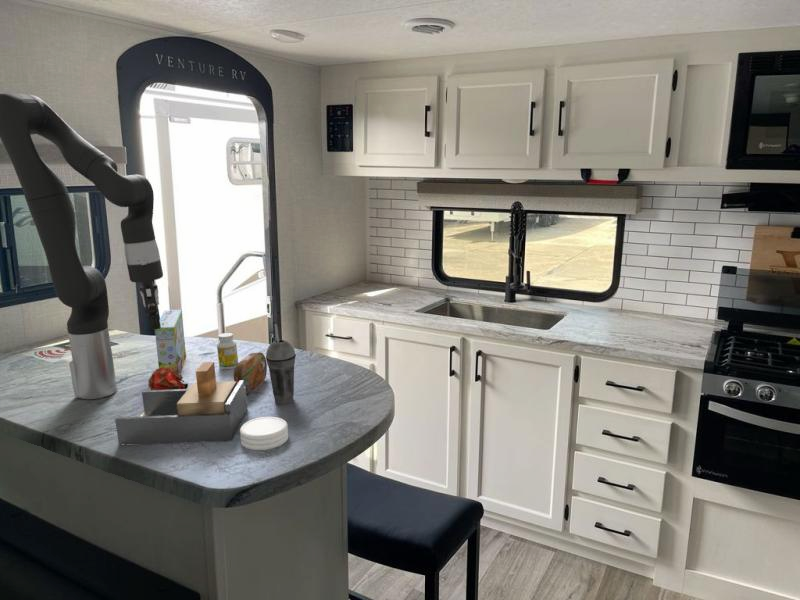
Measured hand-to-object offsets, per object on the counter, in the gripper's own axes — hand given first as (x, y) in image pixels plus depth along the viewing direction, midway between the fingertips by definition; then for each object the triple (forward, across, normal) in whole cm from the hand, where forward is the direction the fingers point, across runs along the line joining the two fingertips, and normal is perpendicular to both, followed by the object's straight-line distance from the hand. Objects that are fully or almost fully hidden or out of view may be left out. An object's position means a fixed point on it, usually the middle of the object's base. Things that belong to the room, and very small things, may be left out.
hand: (155, 324), depth 151 cm
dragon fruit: (+20, -1, 0) cm, 20 cm away
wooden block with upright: (+19, +21, +8) cm, 30 cm away
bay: (+20, +19, +3) cm, 28 cm away
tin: (+21, +1, +20) cm, 29 cm away
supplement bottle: (+21, -18, +17) cm, 32 cm away
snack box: (+20, -25, +2) cm, 32 cm away
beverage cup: (+21, +14, +26) cm, 37 cm away
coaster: (+21, +33, +18) cm, 44 cm away
